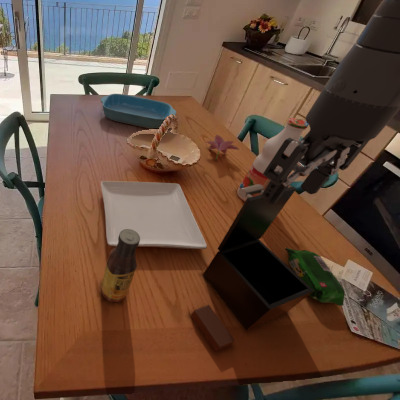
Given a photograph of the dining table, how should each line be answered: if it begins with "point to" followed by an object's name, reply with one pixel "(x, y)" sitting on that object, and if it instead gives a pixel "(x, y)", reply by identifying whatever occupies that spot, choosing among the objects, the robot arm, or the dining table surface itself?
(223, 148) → the lily
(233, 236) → the bin lid
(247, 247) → the waste bin
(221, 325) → the chocolate bar
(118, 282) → the sauce bottle
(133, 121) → the casserole dish
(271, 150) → the fruit juice
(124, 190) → the square plate
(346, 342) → the dining table surface
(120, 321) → the dining table surface
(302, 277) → the snack package
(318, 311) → the dining table surface
